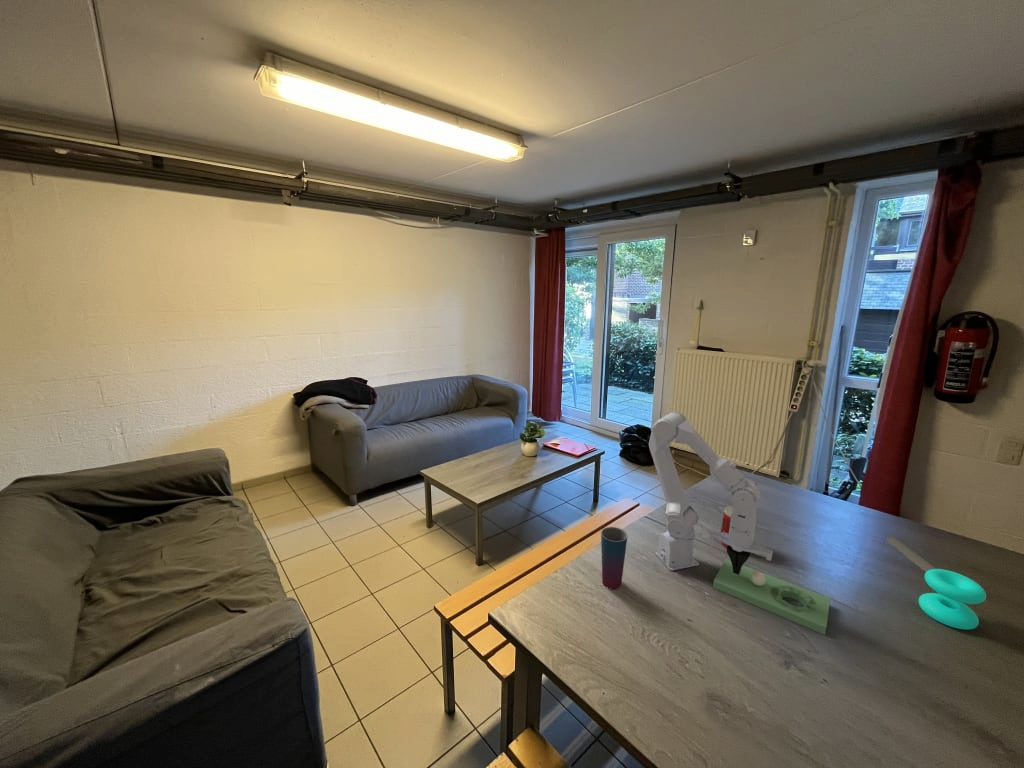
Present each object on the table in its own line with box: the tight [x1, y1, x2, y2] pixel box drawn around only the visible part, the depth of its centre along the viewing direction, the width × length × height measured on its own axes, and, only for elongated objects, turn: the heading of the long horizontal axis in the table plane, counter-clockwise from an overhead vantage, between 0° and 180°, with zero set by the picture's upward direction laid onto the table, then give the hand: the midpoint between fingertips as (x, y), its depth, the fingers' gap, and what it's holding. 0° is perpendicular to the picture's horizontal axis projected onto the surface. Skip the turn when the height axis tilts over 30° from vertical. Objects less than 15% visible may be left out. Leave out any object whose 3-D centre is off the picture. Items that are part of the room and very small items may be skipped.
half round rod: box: [885, 536, 937, 573], centre depth 118 cm, size 4×20×2 cm, turn 172°
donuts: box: [918, 568, 987, 631], centre depth 97 cm, size 10×10×10 cm
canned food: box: [720, 505, 733, 549], centre depth 125 cm, size 8×8×11 cm
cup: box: [600, 526, 628, 590], centre depth 109 cm, size 7×7×15 cm
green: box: [712, 558, 831, 636], centre depth 105 cm, size 24×12×2 cm, turn 49°
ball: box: [750, 570, 766, 586], centre depth 106 cm, size 4×4×4 cm
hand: (736, 571), depth 109 cm, fingers closed
